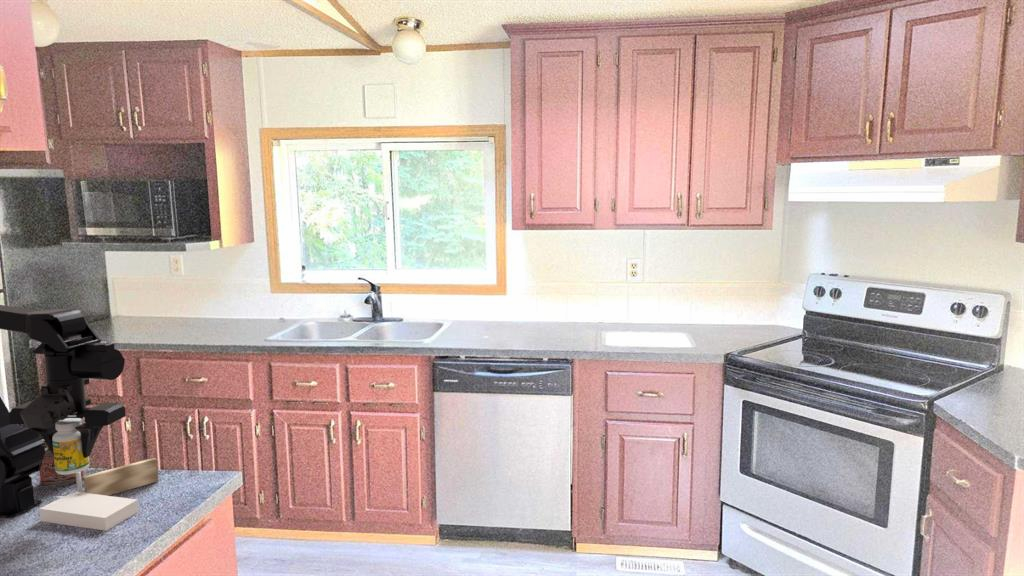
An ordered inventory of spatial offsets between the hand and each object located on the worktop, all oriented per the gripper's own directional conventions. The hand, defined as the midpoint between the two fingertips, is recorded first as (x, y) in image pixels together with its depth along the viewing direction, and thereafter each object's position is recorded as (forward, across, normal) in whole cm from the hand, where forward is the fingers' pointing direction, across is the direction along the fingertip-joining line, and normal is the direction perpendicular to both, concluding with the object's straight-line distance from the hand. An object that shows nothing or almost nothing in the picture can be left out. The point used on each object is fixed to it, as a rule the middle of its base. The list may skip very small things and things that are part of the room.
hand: (71, 456), depth 117 cm
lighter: (+12, -13, +14) cm, 23 cm away
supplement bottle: (+3, 0, 0) cm, 3 cm away
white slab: (+12, +3, -1) cm, 12 cm away
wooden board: (+11, +2, +10) cm, 15 cm away
